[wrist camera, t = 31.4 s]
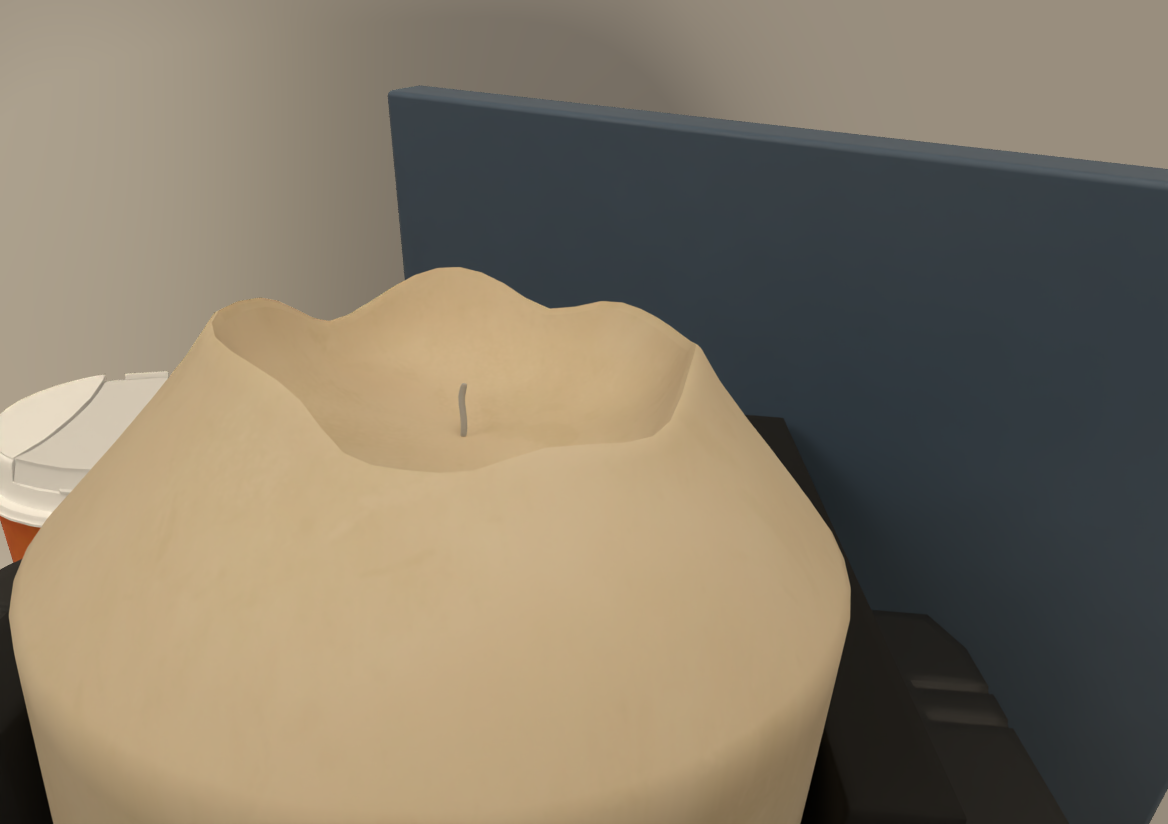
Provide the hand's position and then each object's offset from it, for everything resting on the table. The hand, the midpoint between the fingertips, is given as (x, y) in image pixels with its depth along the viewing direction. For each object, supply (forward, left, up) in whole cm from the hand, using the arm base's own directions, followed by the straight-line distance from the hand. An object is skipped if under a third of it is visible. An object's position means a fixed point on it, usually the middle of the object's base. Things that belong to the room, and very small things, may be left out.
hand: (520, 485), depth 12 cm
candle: (-1, +5, -6) cm, 8 cm away
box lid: (-3, -2, -2) cm, 4 cm away
